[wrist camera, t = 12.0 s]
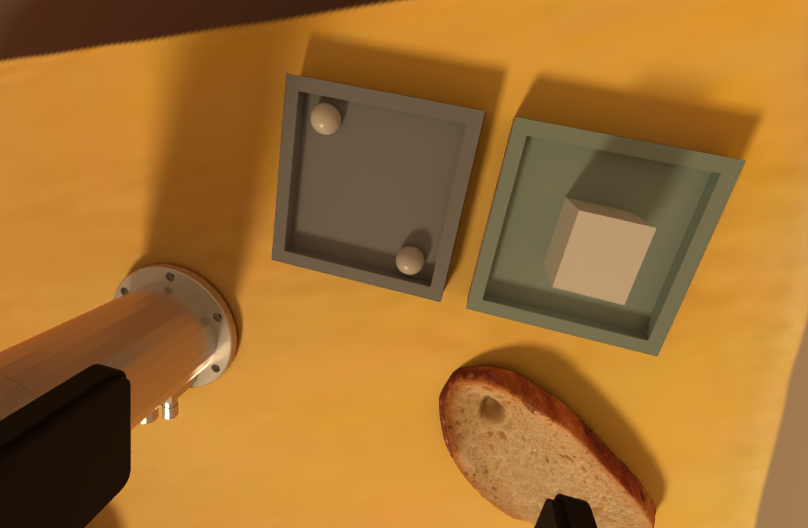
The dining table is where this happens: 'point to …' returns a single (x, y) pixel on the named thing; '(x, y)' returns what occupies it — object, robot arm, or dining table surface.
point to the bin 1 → (372, 184)
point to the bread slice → (534, 450)
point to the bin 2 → (609, 186)
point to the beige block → (597, 250)
